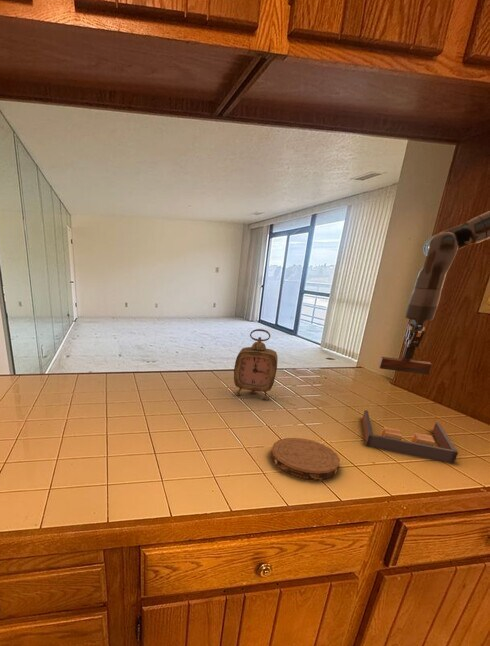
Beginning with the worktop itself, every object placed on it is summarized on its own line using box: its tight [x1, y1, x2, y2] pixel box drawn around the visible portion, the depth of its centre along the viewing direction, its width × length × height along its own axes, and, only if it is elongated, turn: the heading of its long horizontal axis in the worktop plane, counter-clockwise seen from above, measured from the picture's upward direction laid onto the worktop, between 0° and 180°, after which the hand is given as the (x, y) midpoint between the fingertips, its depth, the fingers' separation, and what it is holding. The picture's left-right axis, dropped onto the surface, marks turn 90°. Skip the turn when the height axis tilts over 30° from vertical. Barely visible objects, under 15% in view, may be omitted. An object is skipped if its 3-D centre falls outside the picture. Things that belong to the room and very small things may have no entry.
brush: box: [378, 341, 433, 376], centre depth 114 cm, size 14×3×10 cm, turn 65°
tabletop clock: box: [233, 328, 279, 401], centre depth 126 cm, size 14×9×25 cm, turn 70°
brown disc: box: [270, 437, 340, 483], centre depth 87 cm, size 16×16×3 cm
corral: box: [361, 410, 459, 464], centre depth 100 cm, size 19×20×4 cm
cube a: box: [381, 426, 403, 440], centre depth 97 cm, size 4×4×4 cm
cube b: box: [411, 432, 436, 446], centre depth 94 cm, size 4×4×4 cm
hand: (407, 357), depth 114 cm, fingers closed on brush, 2 cm apart
